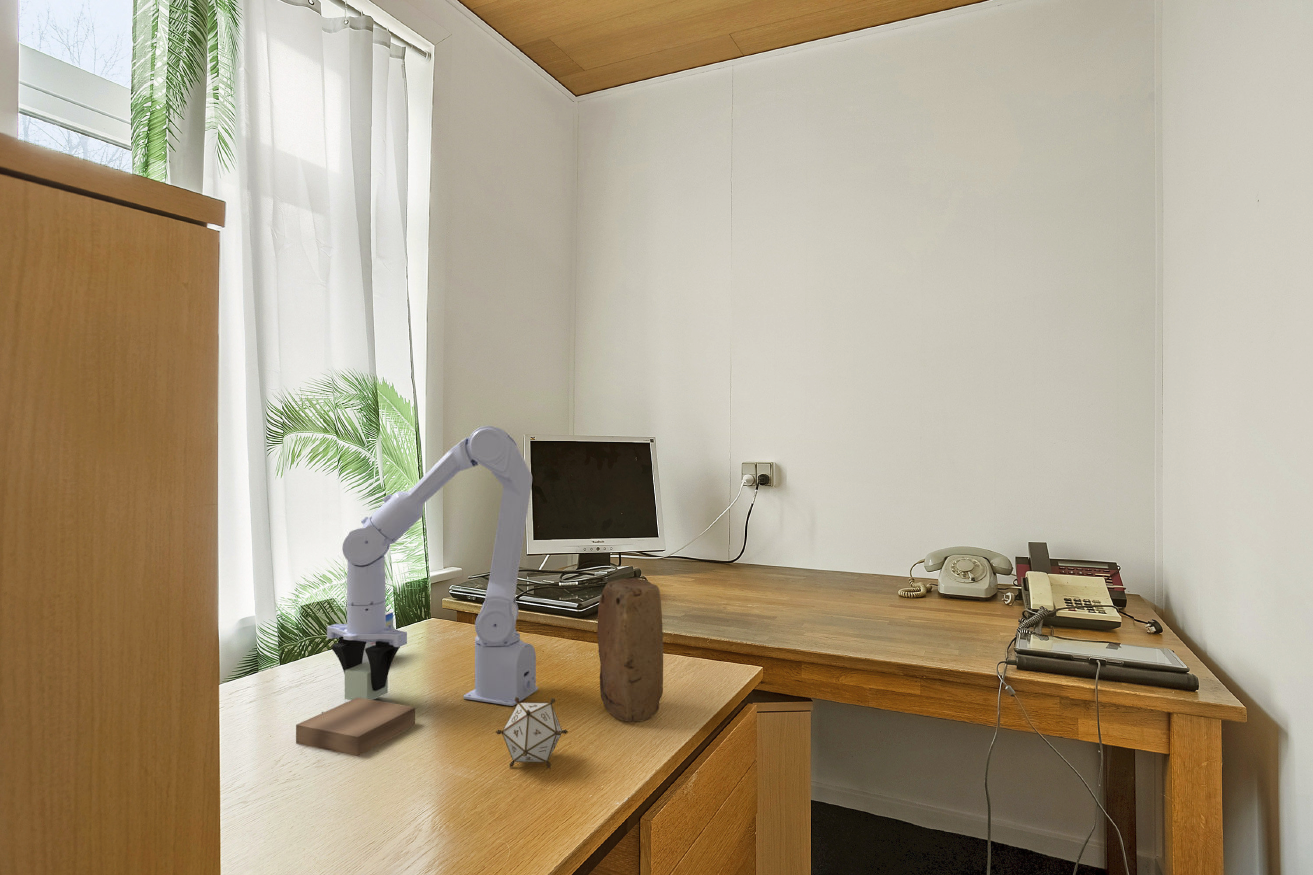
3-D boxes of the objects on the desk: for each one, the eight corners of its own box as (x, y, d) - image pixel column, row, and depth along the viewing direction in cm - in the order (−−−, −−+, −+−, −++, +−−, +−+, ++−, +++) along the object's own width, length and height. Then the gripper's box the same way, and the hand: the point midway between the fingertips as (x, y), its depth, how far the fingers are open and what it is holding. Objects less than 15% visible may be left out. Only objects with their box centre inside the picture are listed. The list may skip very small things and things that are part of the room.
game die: (535, 798, 86) (525, 757, 80) (490, 759, 91) (477, 717, 85) (583, 744, 92) (577, 702, 86) (539, 709, 96) (529, 667, 90)
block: (667, 718, 103) (667, 585, 103) (623, 729, 99) (623, 590, 99) (633, 695, 112) (633, 573, 112) (591, 704, 108) (591, 577, 108)
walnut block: (415, 727, 100) (415, 707, 100) (357, 759, 90) (357, 736, 90) (357, 717, 104) (357, 697, 104) (295, 746, 94) (296, 724, 94)
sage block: (387, 692, 111) (387, 664, 111) (366, 702, 107) (366, 673, 107) (365, 689, 112) (365, 661, 112) (344, 698, 108) (344, 670, 108)
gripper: (311, 603, 108) (311, 689, 108) (384, 611, 103) (384, 701, 103) (346, 594, 115) (346, 675, 115) (416, 600, 110) (416, 685, 110)
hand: (366, 686), depth 110 cm, fingers closed on sage block, 4 cm apart
